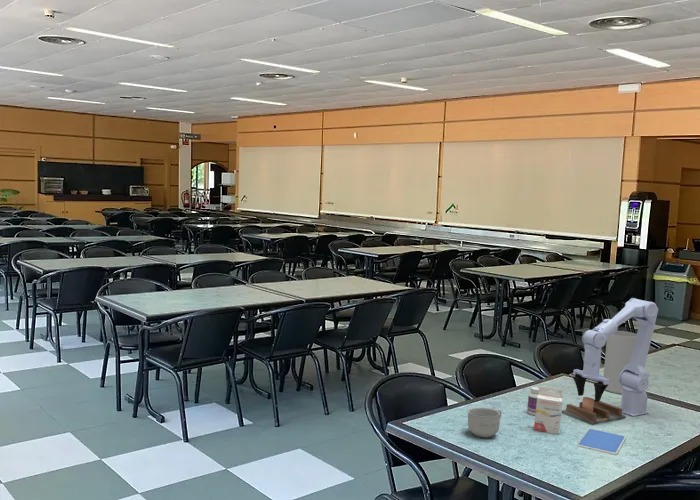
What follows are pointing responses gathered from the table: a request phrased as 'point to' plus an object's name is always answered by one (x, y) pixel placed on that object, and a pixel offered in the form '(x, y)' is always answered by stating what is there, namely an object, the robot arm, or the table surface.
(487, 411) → the teacup
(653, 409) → the table surface
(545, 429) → the ink cartridge box
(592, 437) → the tablet computer
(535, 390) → the pill bottle
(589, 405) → the terracotta plug
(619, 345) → the cylinder vase
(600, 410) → the comb rack
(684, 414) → the table surface
